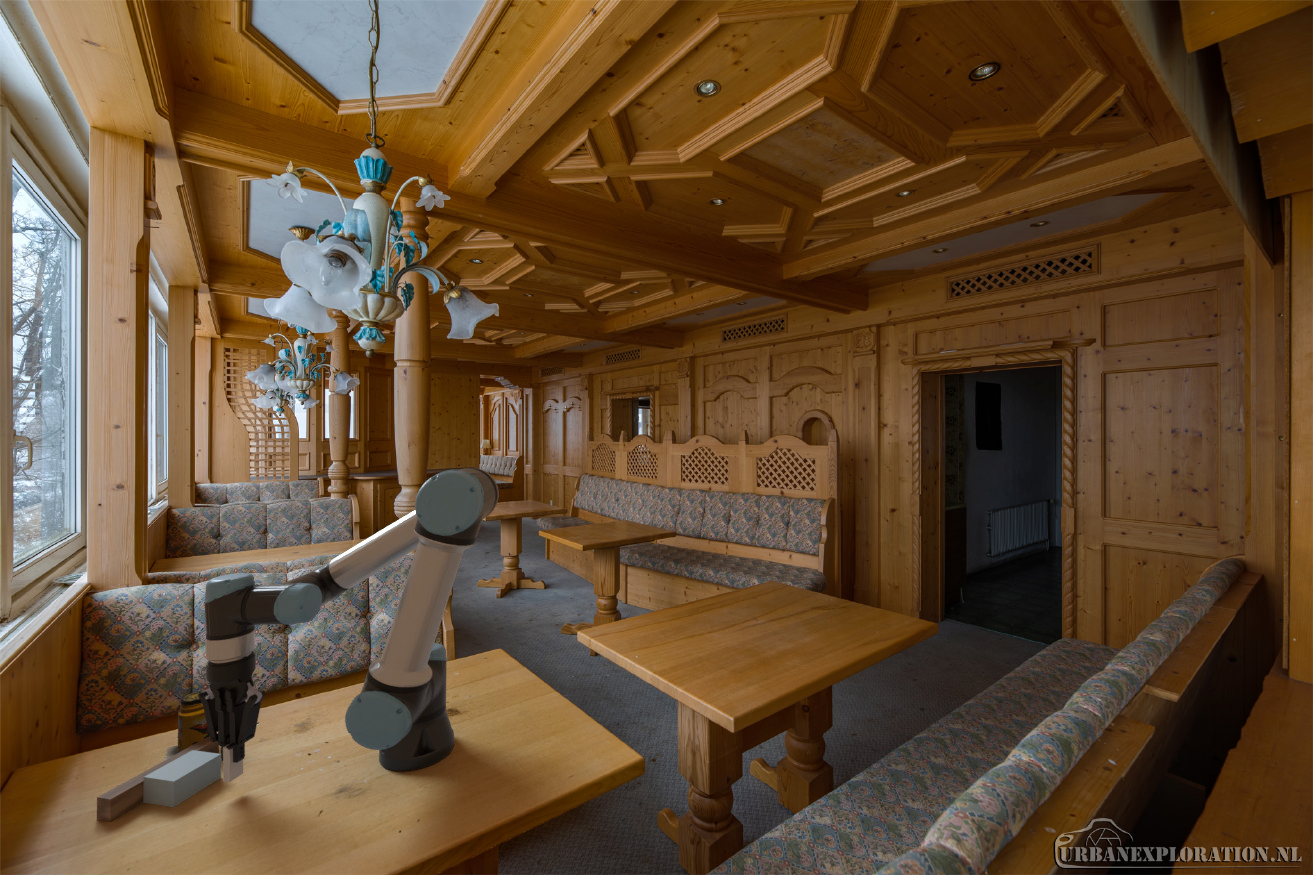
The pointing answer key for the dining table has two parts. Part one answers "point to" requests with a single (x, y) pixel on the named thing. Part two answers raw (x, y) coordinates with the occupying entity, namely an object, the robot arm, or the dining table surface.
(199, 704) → the condiment
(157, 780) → the block
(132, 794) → the board
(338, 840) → the dining table surface
